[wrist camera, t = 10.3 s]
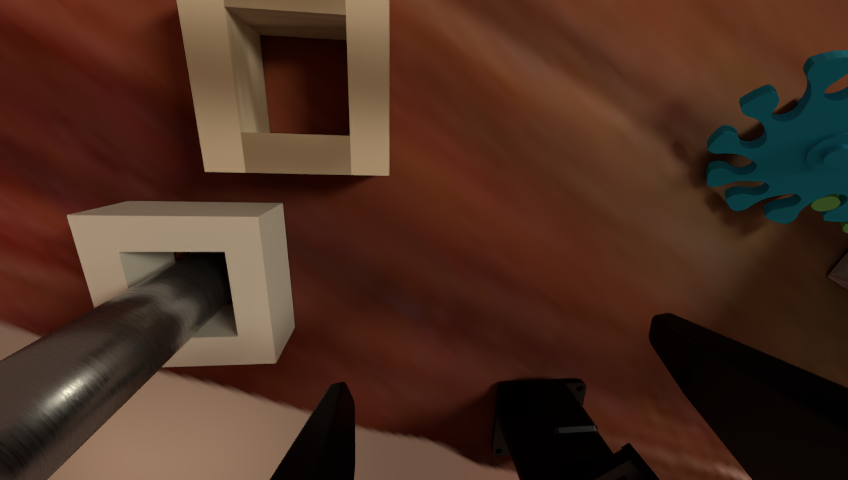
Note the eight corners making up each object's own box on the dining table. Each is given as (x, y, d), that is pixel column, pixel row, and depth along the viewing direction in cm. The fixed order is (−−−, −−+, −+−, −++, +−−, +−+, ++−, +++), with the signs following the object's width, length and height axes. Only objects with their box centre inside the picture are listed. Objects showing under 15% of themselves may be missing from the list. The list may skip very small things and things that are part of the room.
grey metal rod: (252, 294, 20) (37, 529, 8) (196, 294, 19) (-118, 542, 7) (245, 243, 19) (-12, 425, 7) (186, 243, 18) (-192, 433, 6)
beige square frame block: (389, 169, 18) (388, 175, 15) (240, 166, 17) (204, 171, 14) (389, 3, 16) (388, -33, 13) (217, -9, 15) (168, -52, 12)
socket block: (294, 327, 21) (276, 363, 17) (159, 330, 20) (112, 368, 16) (282, 203, 18) (258, 217, 15) (129, 201, 17) (66, 215, 14)
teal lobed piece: (684, 115, 17) (1088, -24, 10) (682, 69, 21) (984, -59, 13) (726, 254, 22) (1024, 226, 15) (719, 198, 25) (958, 154, 18)
